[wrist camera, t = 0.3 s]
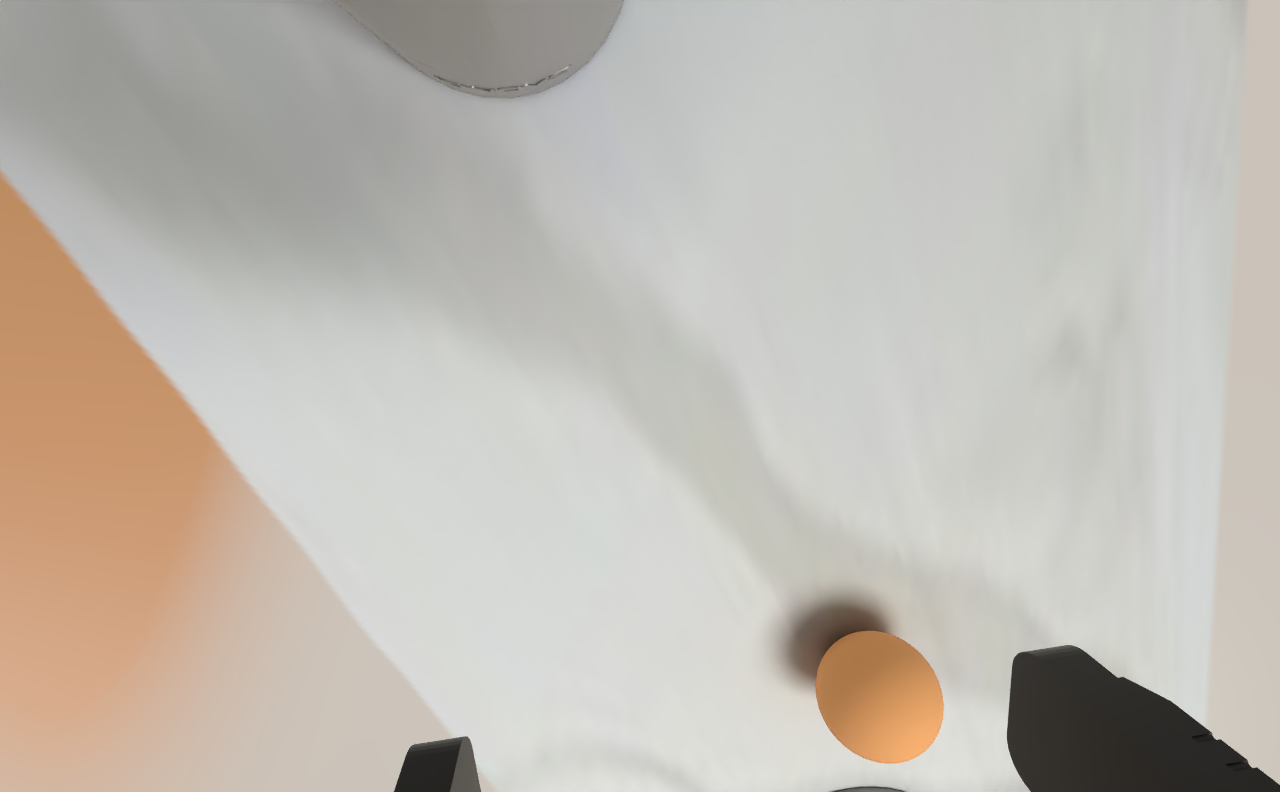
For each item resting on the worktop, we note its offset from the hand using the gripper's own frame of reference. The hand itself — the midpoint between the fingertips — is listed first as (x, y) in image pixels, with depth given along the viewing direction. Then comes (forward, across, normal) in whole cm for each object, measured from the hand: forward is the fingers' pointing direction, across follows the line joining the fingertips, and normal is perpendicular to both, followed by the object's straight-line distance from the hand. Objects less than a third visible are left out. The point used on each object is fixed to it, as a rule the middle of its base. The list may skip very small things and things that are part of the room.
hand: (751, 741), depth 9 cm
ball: (+15, -10, +14) cm, 23 cm away
